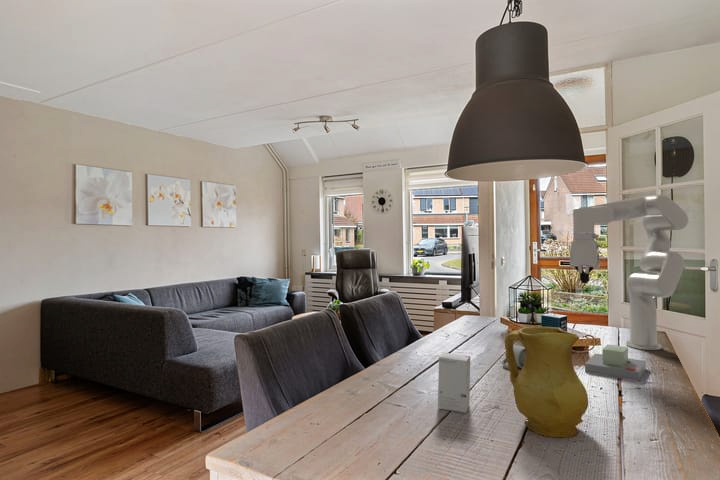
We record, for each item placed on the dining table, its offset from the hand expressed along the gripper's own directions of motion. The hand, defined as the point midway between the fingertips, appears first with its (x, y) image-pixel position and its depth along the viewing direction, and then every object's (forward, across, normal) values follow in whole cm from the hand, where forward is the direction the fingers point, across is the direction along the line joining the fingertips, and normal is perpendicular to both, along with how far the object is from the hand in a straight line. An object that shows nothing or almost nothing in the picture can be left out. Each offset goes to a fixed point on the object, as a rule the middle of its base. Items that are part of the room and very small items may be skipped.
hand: (584, 282), depth 169 cm
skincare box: (+29, +16, +79) cm, 86 cm away
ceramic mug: (+29, +16, +32) cm, 46 cm away
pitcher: (+29, -8, +74) cm, 80 cm away
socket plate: (+29, -13, +15) cm, 35 cm away
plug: (+29, -13, +15) cm, 35 cm away
